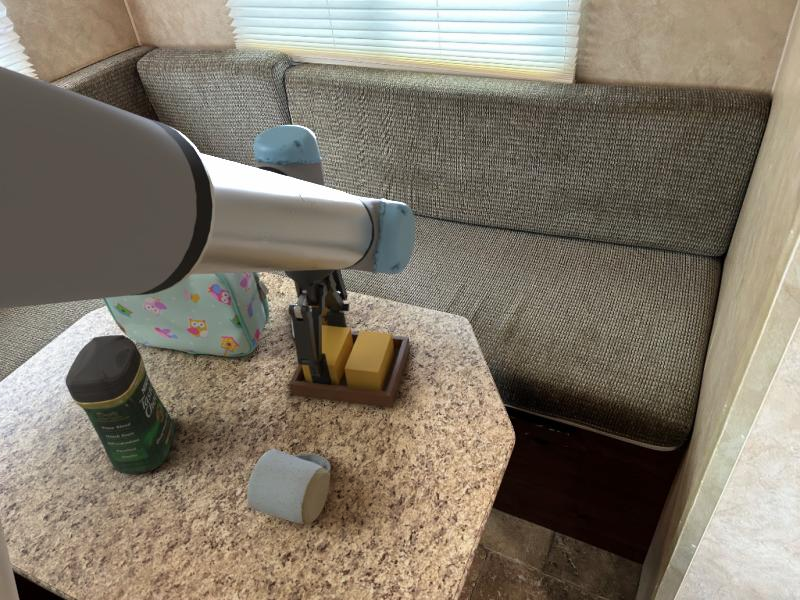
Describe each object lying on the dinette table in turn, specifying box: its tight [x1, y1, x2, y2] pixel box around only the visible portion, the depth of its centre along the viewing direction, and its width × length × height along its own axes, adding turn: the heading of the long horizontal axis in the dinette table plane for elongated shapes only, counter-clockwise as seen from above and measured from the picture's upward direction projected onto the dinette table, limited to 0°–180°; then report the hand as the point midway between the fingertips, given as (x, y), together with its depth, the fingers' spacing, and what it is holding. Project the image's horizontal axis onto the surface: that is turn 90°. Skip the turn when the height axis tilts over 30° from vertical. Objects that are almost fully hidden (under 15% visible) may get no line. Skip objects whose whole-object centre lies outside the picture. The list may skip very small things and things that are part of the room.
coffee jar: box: [64, 334, 176, 475], centre depth 80 cm, size 10×8×19 cm
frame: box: [288, 330, 411, 409], centre depth 94 cm, size 13×16×3 cm
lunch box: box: [102, 272, 270, 358], centre depth 97 cm, size 27×10×21 cm, turn 76°
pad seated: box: [345, 329, 395, 391], centre depth 92 cm, size 8×5×4 cm, turn 167°
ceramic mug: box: [246, 448, 331, 525], centre depth 76 cm, size 11×8×8 cm
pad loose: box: [302, 325, 354, 386], centre depth 93 cm, size 8×5×4 cm, turn 167°
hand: (332, 363), depth 95 cm, fingers closed on pad loose, 8 cm apart
